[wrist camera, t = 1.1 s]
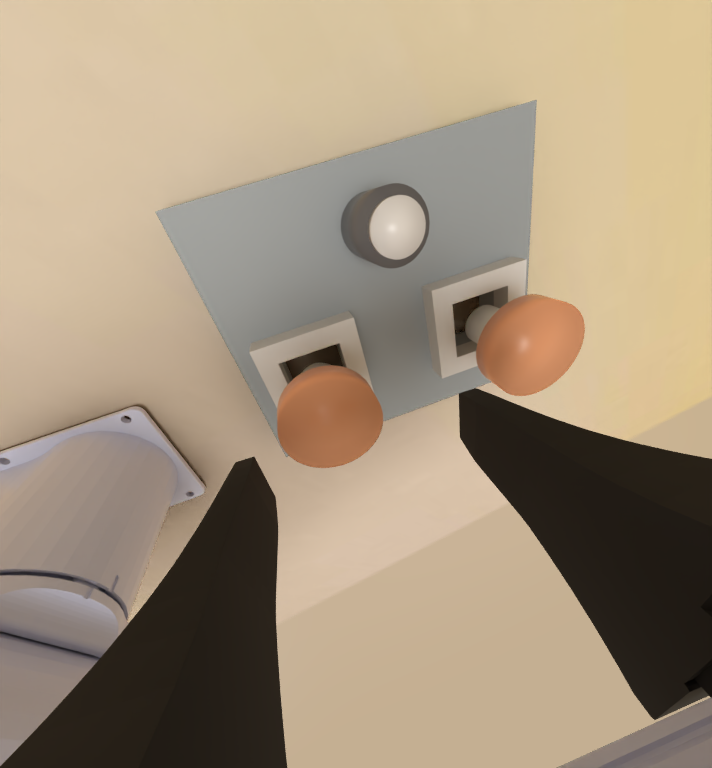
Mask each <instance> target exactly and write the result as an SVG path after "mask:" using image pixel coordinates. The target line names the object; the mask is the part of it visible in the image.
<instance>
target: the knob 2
mask: <svg viewBox="0 0 712 768" xmlns="http://www.w3.org/2000/svg"><path fill="white" fill-rule="evenodd" d="M465 332H466V335H467V337H468V338H469V339H470V340H472V341H474V342H475V343H477V349H476V360H477V365H478V368H479V370H480V371H481V373H482V374H483V375H484V376H485V377H486V378H487V379H489V380H490V381H491V382H493V383H494V384H495V385H497V386H498V387H499V388H501V389H502V390H503V391H505V392H506V393H509V394H511V395H515V396H526V395H531V394H534V393H537V392H539V391H542V390H543V389H545V388H547V387H549V386H550V385H552V384H553V383H554V382H556V381H557V380H558V379H559V378H560V377H561V376H562V375H563V374H564V373H565V372H566V371H567V370H568V369H569V367H570V366H571V365H572V363H573V362H574V360H575V359H576V357H577V355H578V353H579V351H580V349H581V346H582V343H583V339H584V332H585V327H584V320H583V317H582V315H581V313H580V311H579V310H578V309H577V308H576V307H575V306H573V305H572V304H569V303H566V302H563V301H559V300H556V299H552V298H549V297H545V296H542V295H537V294H531V295H524V296H521V297H518V298H516V299H513V300H512V301H510V302H508V303H507V304H505V305H504V306H502V307H501V308H497V307H495V306H492V305H482V306H480V307H478V308H476V309H475V310H474V311H473V312H472V313H471V314H470V315H469V317H468V319H467V321H466V325H465Z"/></svg>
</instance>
